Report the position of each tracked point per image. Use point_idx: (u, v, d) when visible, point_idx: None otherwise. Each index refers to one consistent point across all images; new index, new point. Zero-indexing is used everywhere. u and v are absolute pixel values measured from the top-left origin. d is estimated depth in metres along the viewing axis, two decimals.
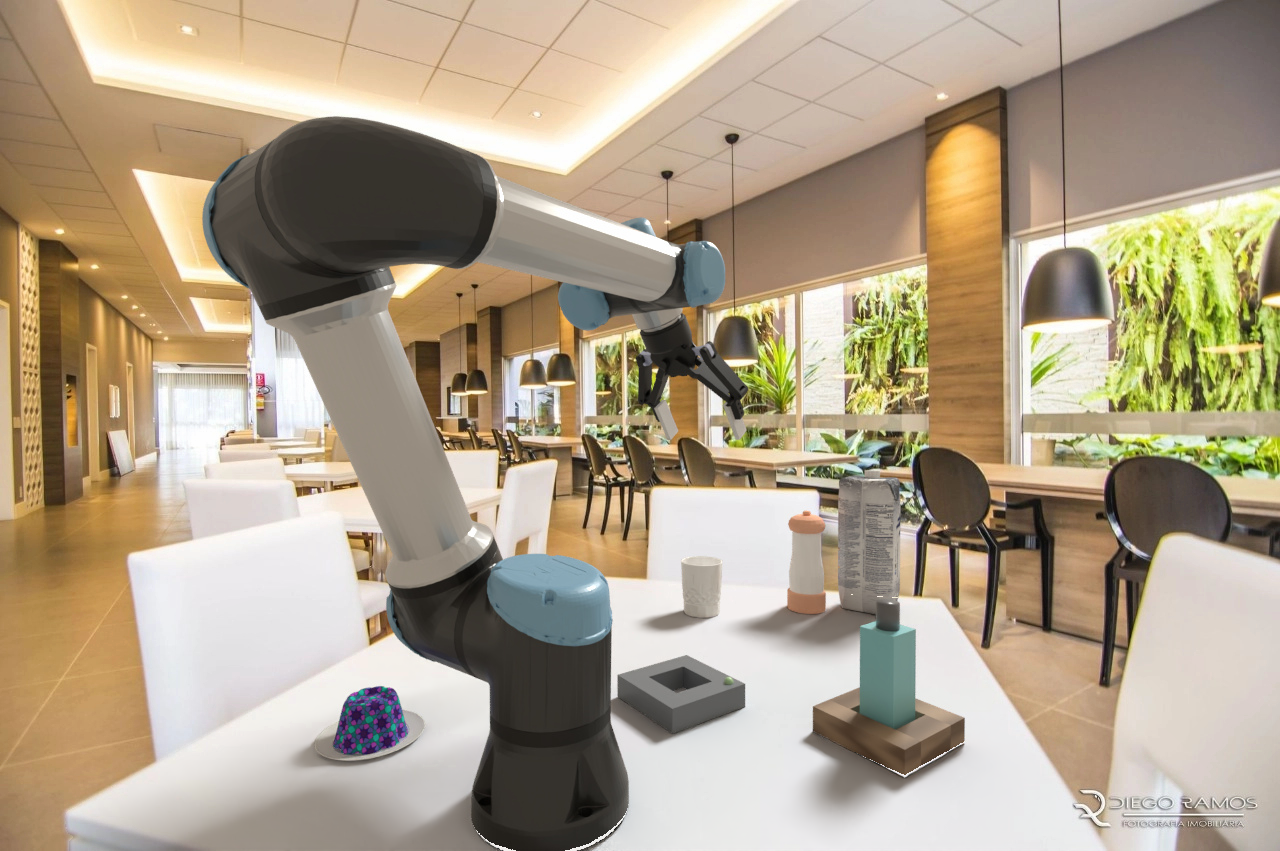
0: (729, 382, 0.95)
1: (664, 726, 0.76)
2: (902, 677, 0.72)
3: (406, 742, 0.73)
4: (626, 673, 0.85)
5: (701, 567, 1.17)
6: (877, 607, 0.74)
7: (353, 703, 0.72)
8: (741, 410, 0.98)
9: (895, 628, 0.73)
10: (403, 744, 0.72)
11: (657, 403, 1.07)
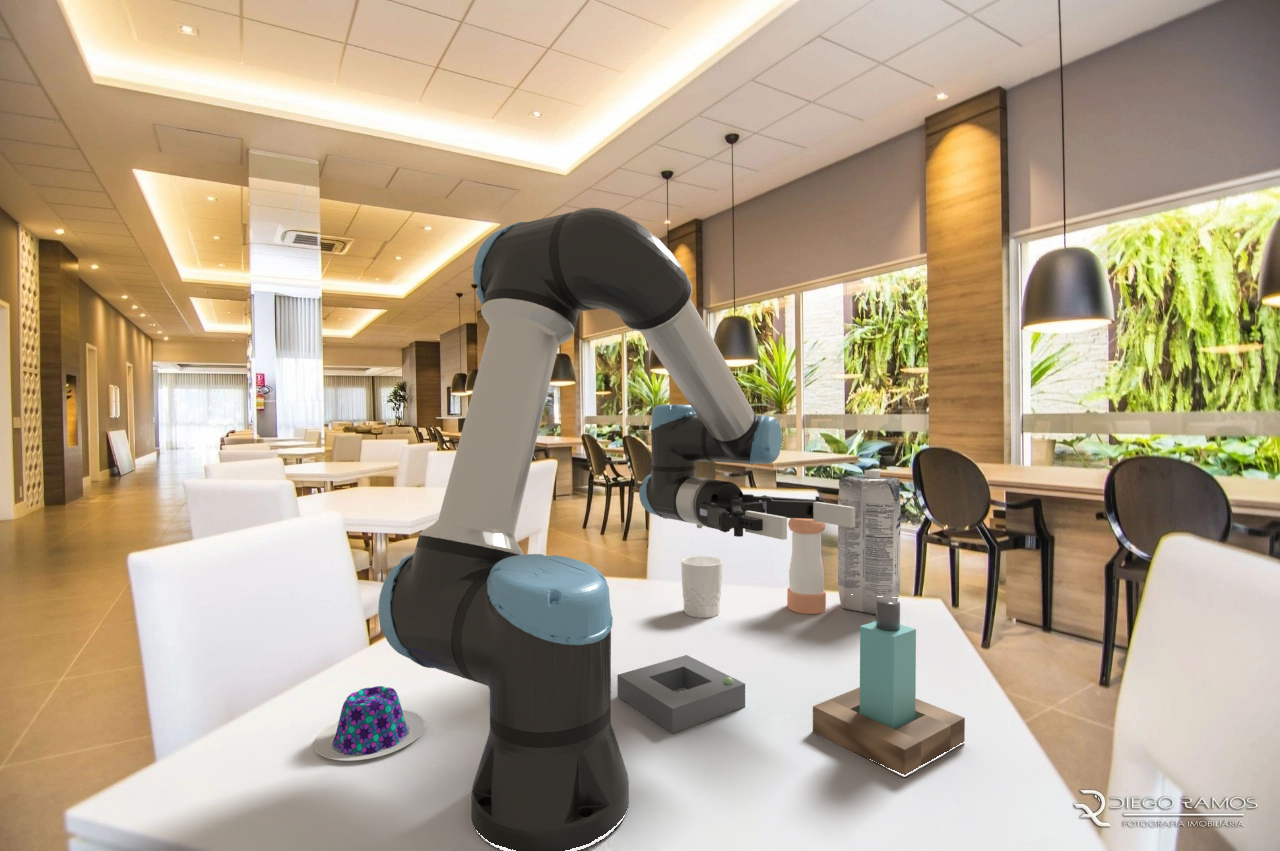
0: (803, 499, 0.95)
1: (664, 726, 0.76)
2: (902, 677, 0.72)
3: (406, 742, 0.73)
4: (626, 673, 0.85)
5: (701, 567, 1.17)
6: (877, 607, 0.74)
7: (353, 703, 0.72)
8: None
9: (895, 628, 0.73)
10: (403, 744, 0.72)
11: None
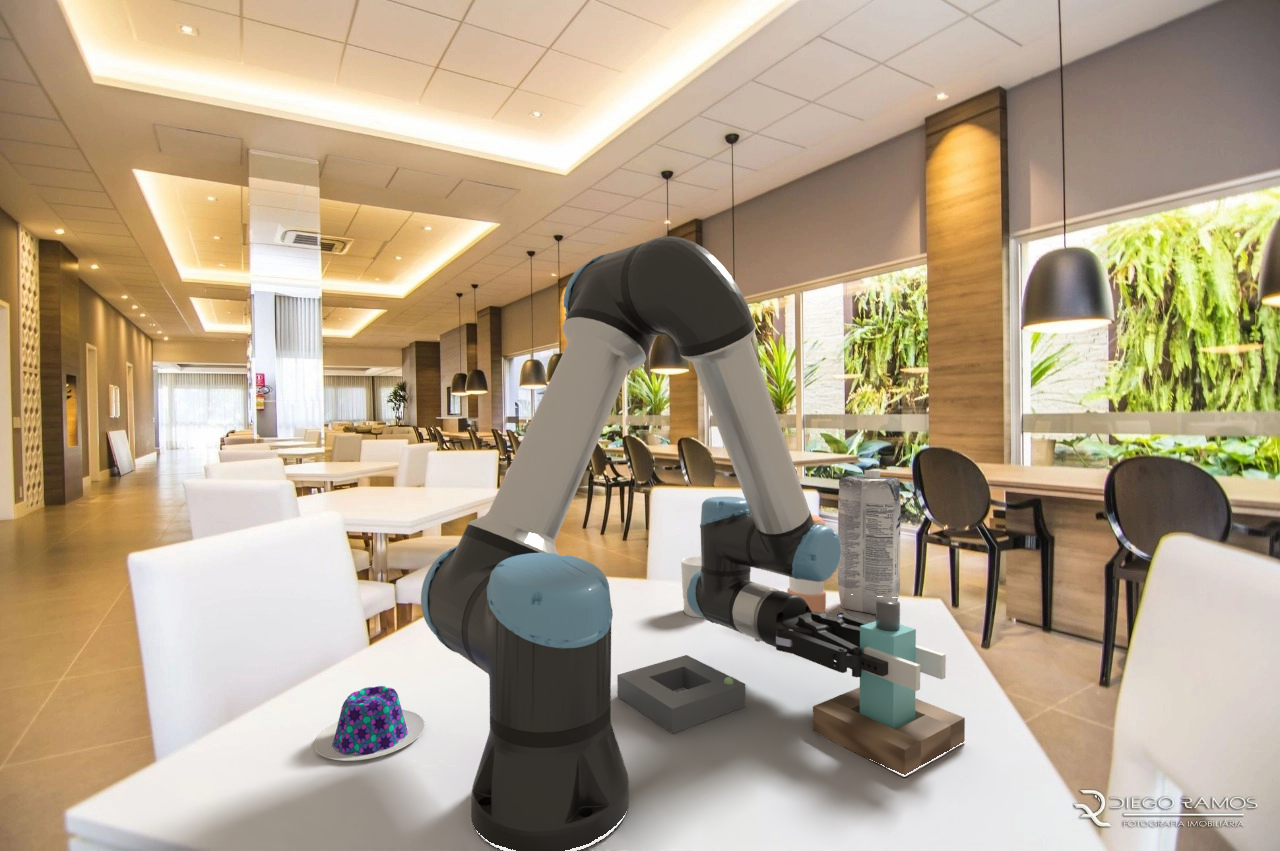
0: None
1: (664, 726, 0.76)
2: None
3: (404, 743, 0.72)
4: (626, 673, 0.85)
5: None
6: (877, 607, 0.74)
7: (352, 703, 0.72)
8: None
9: (895, 628, 0.73)
10: (400, 745, 0.72)
11: None
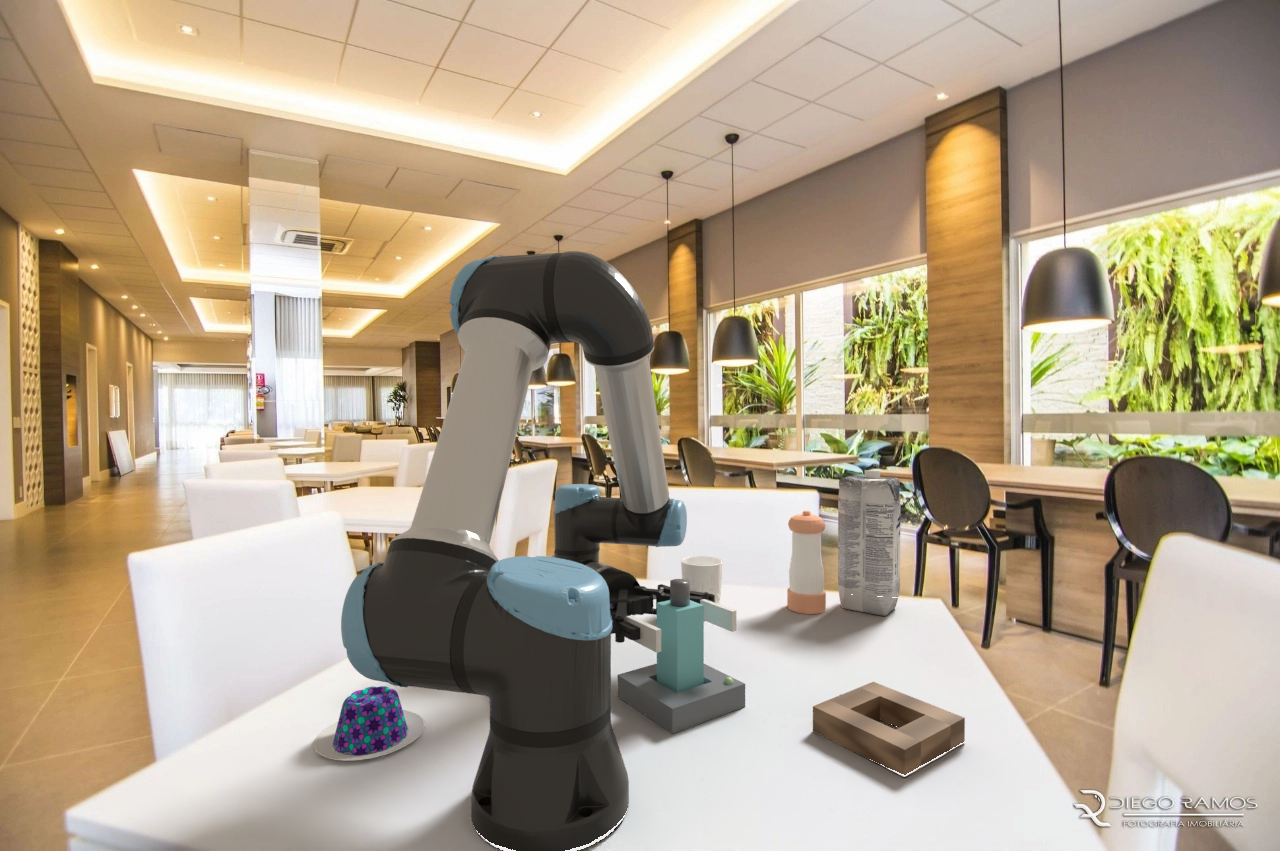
0: (696, 592, 0.93)
1: (664, 726, 0.76)
2: (687, 647, 0.81)
3: (397, 747, 0.71)
4: (626, 673, 0.85)
5: (701, 567, 1.17)
6: (670, 586, 0.83)
7: (350, 702, 0.73)
8: None
9: (683, 604, 0.82)
10: (393, 749, 0.71)
11: None
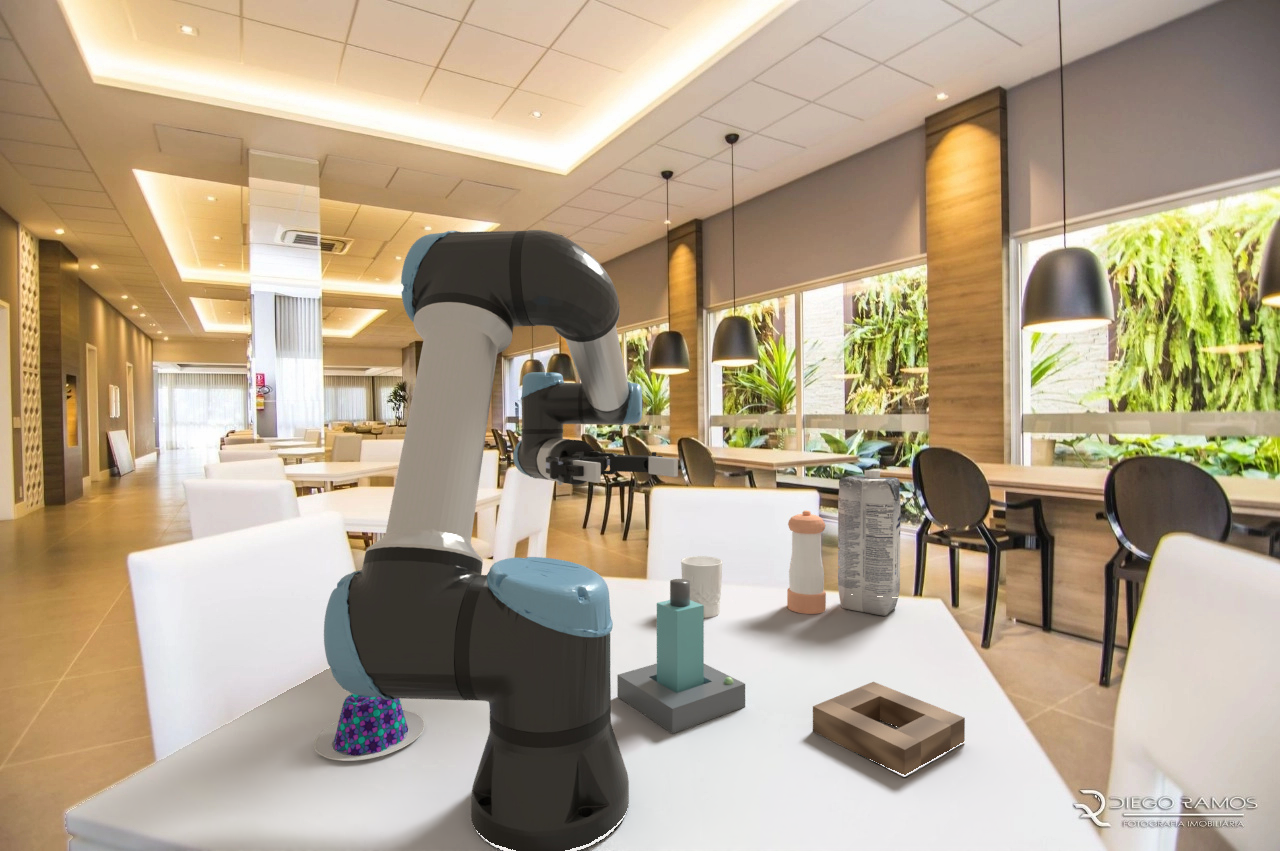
0: None
1: (664, 726, 0.76)
2: (687, 647, 0.81)
3: (390, 750, 0.71)
4: (626, 673, 0.85)
5: (701, 567, 1.17)
6: (670, 586, 0.83)
7: (349, 701, 0.73)
8: None
9: (683, 604, 0.82)
10: (386, 752, 0.71)
11: None
